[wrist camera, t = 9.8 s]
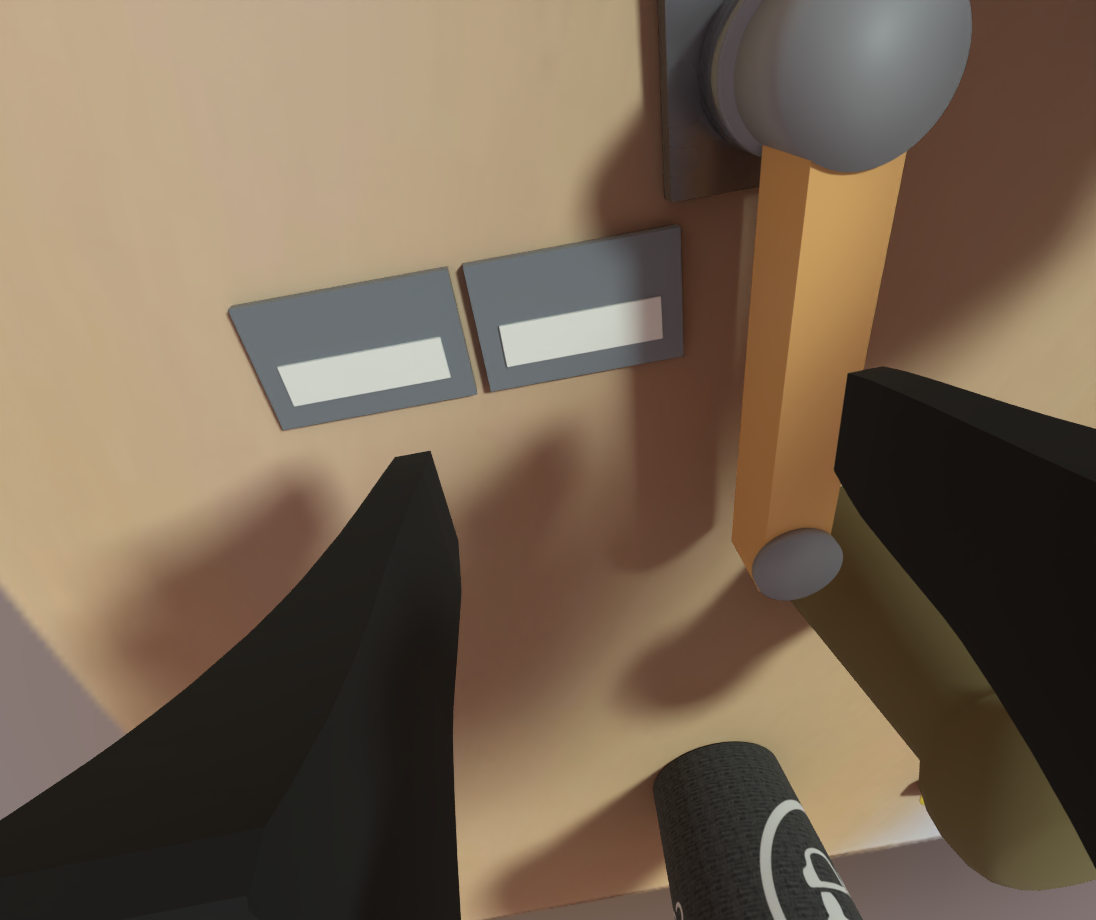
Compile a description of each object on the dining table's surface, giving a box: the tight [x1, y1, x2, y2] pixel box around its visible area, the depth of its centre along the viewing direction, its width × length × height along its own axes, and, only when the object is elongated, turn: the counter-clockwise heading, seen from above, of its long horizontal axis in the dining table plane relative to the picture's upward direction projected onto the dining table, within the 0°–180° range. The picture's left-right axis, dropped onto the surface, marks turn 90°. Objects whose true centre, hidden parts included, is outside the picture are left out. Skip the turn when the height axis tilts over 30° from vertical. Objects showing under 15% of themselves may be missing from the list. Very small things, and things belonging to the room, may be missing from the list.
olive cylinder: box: [790, 486, 1096, 891], centre depth 19 cm, size 6×6×11 cm
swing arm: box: [732, 0, 972, 601], centre depth 14 cm, size 14×3×2 cm, turn 6°
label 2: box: [463, 224, 684, 392], centre depth 17 cm, size 6×4×1 cm, turn 98°
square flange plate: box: [657, 0, 763, 203], centre depth 13 cm, size 5×5×2 cm
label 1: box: [228, 266, 477, 430], centre depth 17 cm, size 6×4×1 cm, turn 98°
